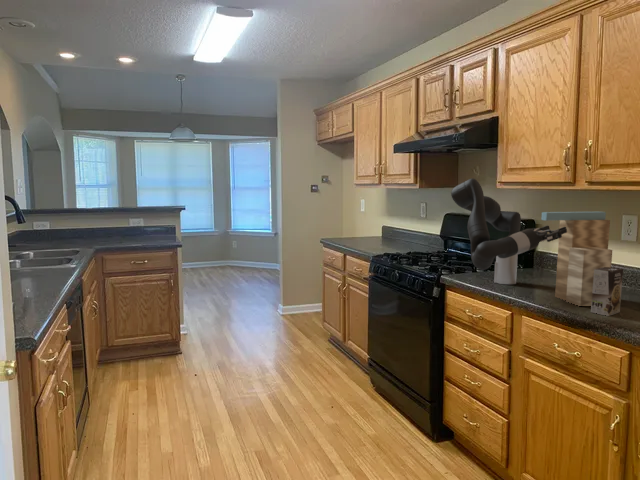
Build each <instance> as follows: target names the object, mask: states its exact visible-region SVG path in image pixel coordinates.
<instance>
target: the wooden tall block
mask: <svg viewBox="0 0 640 480" xmlns="http://www.w3.org/2000/svg"><path fill="white" fill-rule="evenodd" d="M610 226H611V220H610V219H605V220H559V228H558V229H560V228H562V227H566V229H567V233H564V234H562V237H561V238H558V248H557V262H556V275H555V276H556V277H555V278H556V279H555V291H554V298H557V299H559V298H560V299H559V300H562V299H563V301H565V300H566V295H567V280H568V265H569V249H570V248H580V247H599V248H605V249H609V238H610Z"/></svg>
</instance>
